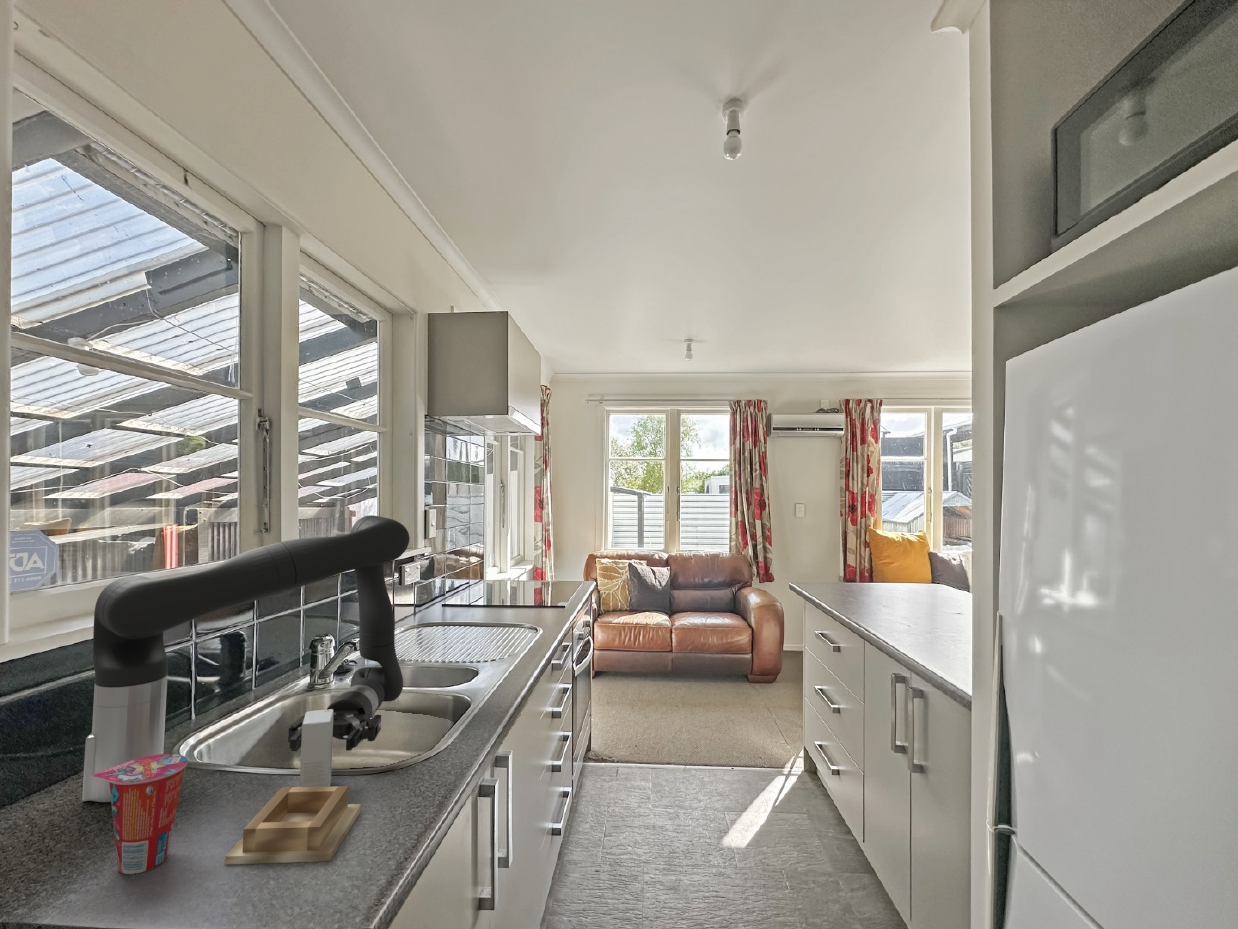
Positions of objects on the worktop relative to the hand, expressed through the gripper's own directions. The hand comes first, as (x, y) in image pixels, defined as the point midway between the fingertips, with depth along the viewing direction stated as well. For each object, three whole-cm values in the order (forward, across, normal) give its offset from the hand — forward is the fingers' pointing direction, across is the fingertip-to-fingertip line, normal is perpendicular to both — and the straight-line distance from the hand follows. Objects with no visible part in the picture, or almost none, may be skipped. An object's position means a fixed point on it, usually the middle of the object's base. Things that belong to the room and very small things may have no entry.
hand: (321, 745), depth 103 cm
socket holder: (+15, +2, +7) cm, 16 cm away
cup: (+20, -15, +7) cm, 26 cm away
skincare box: (+2, 0, +7) cm, 7 cm away
